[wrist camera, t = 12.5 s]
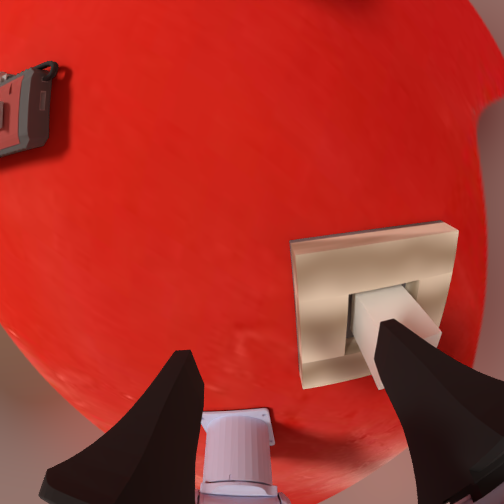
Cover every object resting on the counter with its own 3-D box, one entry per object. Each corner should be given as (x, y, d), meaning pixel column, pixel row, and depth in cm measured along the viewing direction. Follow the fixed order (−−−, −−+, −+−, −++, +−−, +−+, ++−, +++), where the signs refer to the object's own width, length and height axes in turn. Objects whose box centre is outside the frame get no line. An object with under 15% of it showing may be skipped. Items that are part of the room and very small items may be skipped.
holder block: (418, 341, 24) (429, 356, 21) (298, 369, 24) (303, 389, 22) (440, 220, 19) (458, 230, 16) (289, 240, 19) (295, 255, 17)
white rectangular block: (391, 319, 22) (426, 373, 15) (350, 328, 22) (378, 389, 15) (396, 279, 20) (442, 332, 14) (352, 288, 20) (389, 349, 14)
